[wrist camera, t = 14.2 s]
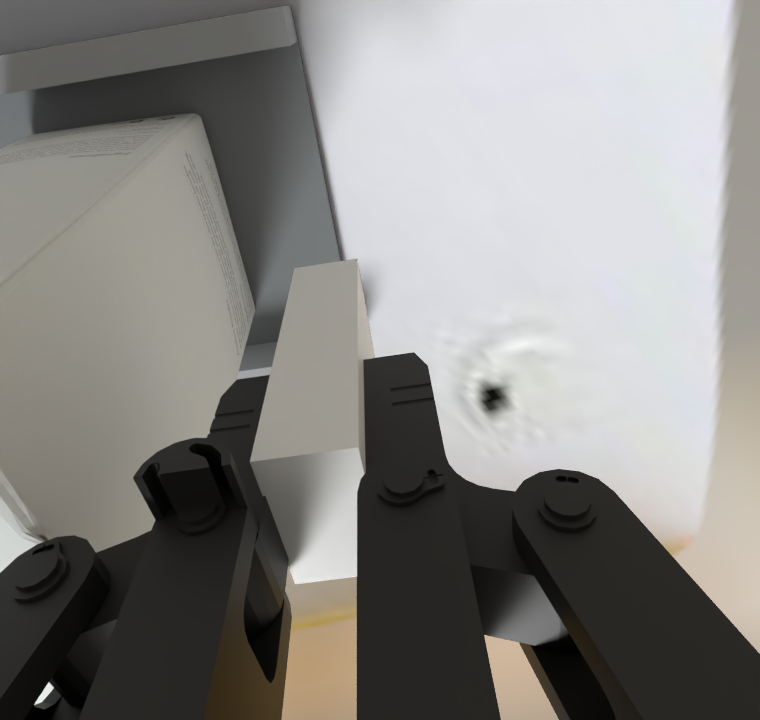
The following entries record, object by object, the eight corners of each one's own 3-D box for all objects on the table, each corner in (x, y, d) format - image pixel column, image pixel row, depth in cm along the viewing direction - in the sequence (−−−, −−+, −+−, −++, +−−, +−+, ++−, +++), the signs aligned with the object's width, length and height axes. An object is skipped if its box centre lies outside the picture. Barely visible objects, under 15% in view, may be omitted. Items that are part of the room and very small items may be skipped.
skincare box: (27, 130, 19) (-676, 402, 6) (214, 106, 19) (-102, 333, 6) (117, 336, 24) (-177, 745, 11) (268, 319, 24) (157, 713, 10)
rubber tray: (-105, 411, 26) (-144, 445, 24) (-339, 115, 19) (-422, 128, 17) (357, 345, 25) (357, 375, 23) (291, 5, 18) (282, 5, 16)
